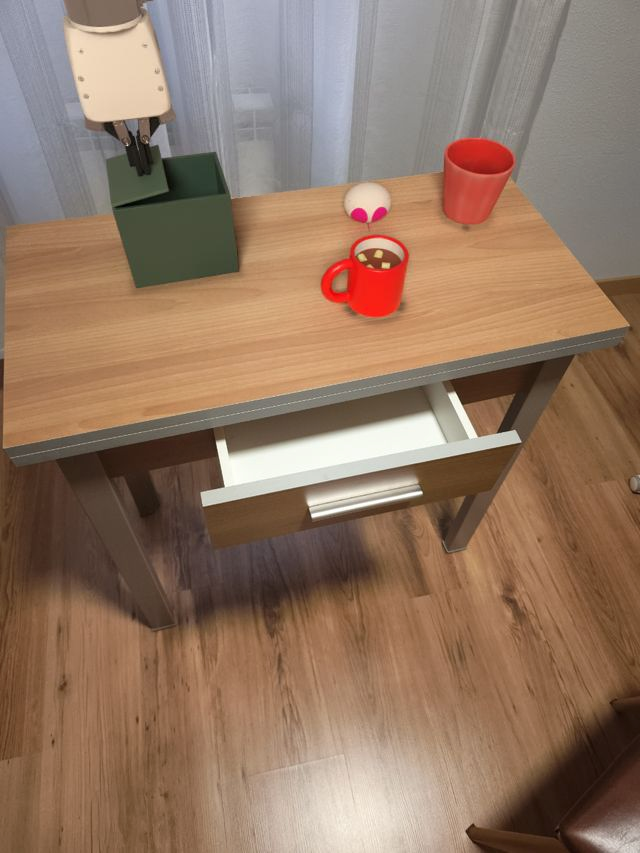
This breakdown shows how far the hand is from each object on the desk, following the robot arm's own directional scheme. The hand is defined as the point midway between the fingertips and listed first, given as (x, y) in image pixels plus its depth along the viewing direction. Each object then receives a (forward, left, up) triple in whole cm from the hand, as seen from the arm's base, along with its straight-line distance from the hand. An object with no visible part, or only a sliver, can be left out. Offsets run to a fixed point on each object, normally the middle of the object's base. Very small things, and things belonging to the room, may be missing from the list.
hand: (143, 169), depth 74 cm
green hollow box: (+3, 0, -14) cm, 14 cm away
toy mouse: (+33, +2, -14) cm, 36 cm away
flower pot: (+50, 0, -14) cm, 52 cm away
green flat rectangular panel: (-1, 0, -1) cm, 1 cm away
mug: (+26, -16, -14) cm, 34 cm away
